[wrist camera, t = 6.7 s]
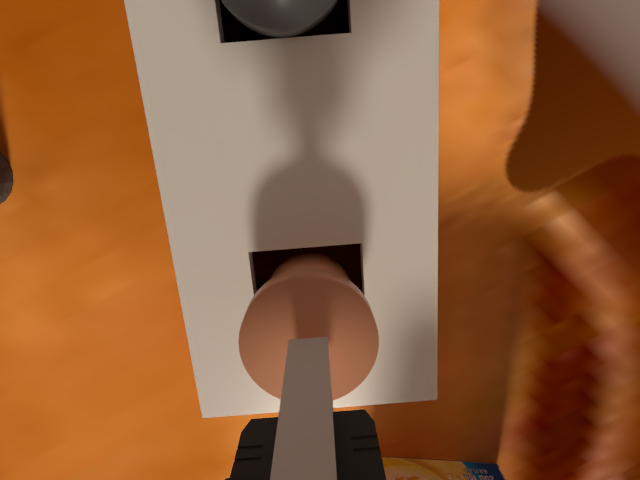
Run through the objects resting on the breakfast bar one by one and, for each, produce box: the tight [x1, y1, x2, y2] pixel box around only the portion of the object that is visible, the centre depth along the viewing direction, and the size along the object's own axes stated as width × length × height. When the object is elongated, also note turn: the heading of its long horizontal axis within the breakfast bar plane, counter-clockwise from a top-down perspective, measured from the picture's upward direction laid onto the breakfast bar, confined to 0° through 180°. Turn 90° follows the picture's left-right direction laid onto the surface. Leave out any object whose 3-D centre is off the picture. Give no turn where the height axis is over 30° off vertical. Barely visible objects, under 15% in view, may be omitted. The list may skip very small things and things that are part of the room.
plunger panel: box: [124, 0, 439, 418], centre depth 21 cm, size 30×14×6 cm, turn 4°
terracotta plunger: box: [238, 253, 379, 400], centre depth 19 cm, size 6×6×6 cm
